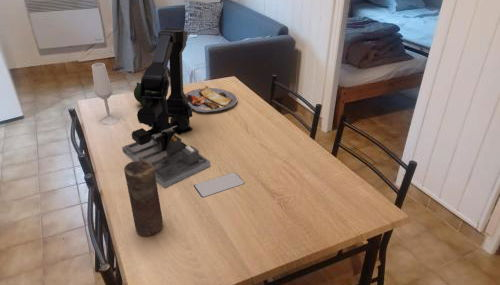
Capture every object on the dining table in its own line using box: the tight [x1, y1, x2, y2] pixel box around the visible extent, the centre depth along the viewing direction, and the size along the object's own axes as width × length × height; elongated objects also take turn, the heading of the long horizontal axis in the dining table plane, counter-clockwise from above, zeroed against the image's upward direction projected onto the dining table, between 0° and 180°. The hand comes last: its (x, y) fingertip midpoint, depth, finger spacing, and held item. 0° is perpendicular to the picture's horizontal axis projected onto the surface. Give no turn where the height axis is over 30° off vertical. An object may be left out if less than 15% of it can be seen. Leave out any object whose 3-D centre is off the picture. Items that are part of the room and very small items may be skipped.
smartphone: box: [193, 172, 245, 198], centre depth 117 cm, size 7×1×15 cm
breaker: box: [182, 145, 200, 166], centre depth 123 cm, size 4×4×5 cm
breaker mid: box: [166, 135, 182, 154], centre depth 129 cm, size 4×4×5 cm
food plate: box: [184, 86, 238, 113], centre depth 168 cm, size 25×23×4 cm
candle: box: [123, 161, 164, 237], centre depth 95 cm, size 8×7×20 cm
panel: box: [121, 138, 211, 189], centre depth 128 cm, size 18×28×3 cm, turn 43°
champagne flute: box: [91, 62, 119, 125], centre depth 146 cm, size 7×7×24 cm
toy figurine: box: [133, 82, 153, 106], centre depth 157 cm, size 9×19×25 cm
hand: (163, 150), depth 127 cm, fingers closed
